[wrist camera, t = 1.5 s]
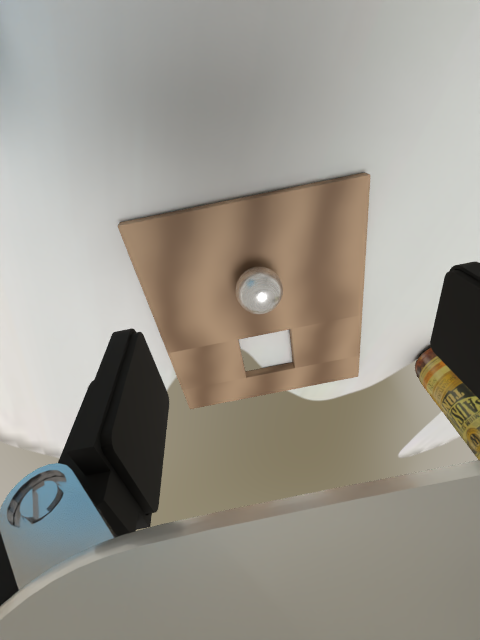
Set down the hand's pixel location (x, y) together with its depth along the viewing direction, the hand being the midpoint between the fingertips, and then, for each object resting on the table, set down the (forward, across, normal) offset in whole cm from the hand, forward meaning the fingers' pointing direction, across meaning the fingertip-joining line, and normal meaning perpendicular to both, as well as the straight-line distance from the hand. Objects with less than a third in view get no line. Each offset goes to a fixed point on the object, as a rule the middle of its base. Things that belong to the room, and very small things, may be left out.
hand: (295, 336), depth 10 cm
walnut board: (+19, 0, +11) cm, 22 cm away
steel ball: (+16, 0, +7) cm, 17 cm away
